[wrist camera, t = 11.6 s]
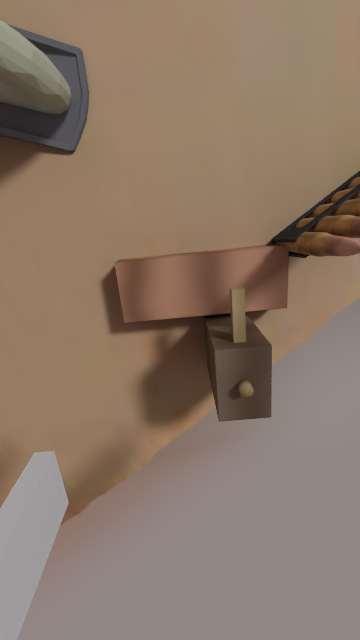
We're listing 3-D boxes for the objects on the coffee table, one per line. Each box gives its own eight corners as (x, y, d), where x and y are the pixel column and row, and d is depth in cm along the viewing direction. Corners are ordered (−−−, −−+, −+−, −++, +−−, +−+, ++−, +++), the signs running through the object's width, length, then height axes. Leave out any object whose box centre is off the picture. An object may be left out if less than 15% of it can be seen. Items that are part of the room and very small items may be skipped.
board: (128, 314, 28) (124, 322, 26) (120, 259, 26) (114, 262, 24) (277, 301, 28) (287, 307, 25) (278, 244, 26) (288, 245, 23)
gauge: (207, 366, 30) (220, 428, 20) (200, 274, 27) (212, 298, 17) (244, 363, 30) (274, 424, 20) (242, 270, 27) (276, 292, 17)
